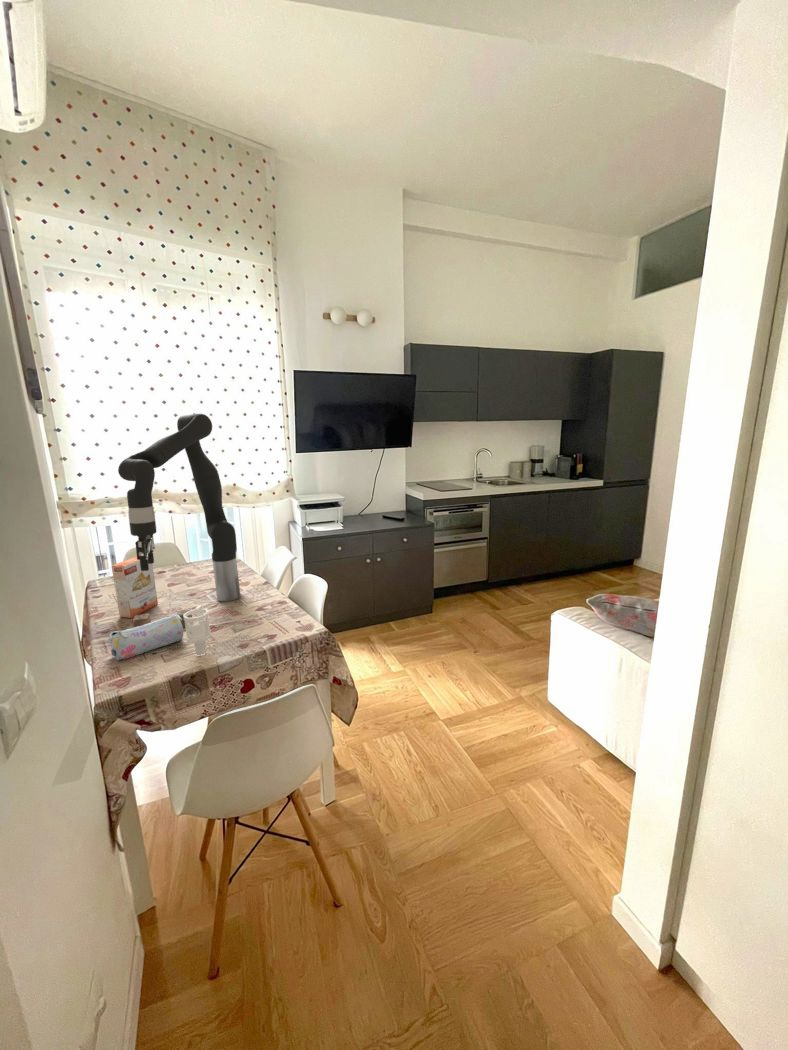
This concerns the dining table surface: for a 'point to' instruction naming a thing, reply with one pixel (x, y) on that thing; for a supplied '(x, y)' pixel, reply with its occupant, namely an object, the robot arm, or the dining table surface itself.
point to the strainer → (198, 629)
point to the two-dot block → (182, 615)
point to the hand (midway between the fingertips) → (147, 566)
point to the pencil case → (146, 637)
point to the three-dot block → (141, 620)
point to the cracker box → (134, 587)
